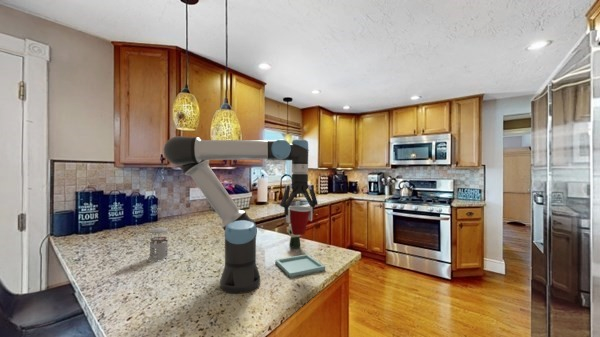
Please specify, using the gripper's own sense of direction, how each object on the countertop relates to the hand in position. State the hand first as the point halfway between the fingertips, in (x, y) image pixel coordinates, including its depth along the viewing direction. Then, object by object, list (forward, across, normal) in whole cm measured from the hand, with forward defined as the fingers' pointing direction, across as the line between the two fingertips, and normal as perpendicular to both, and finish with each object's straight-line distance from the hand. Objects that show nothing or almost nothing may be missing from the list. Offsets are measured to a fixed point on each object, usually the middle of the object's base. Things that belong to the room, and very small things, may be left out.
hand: (299, 221), depth 111 cm
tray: (+21, 0, 0) cm, 21 cm away
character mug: (+21, +10, +26) cm, 35 cm away
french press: (+22, -58, +42) cm, 75 cm away
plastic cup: (+6, 0, 0) cm, 6 cm away
